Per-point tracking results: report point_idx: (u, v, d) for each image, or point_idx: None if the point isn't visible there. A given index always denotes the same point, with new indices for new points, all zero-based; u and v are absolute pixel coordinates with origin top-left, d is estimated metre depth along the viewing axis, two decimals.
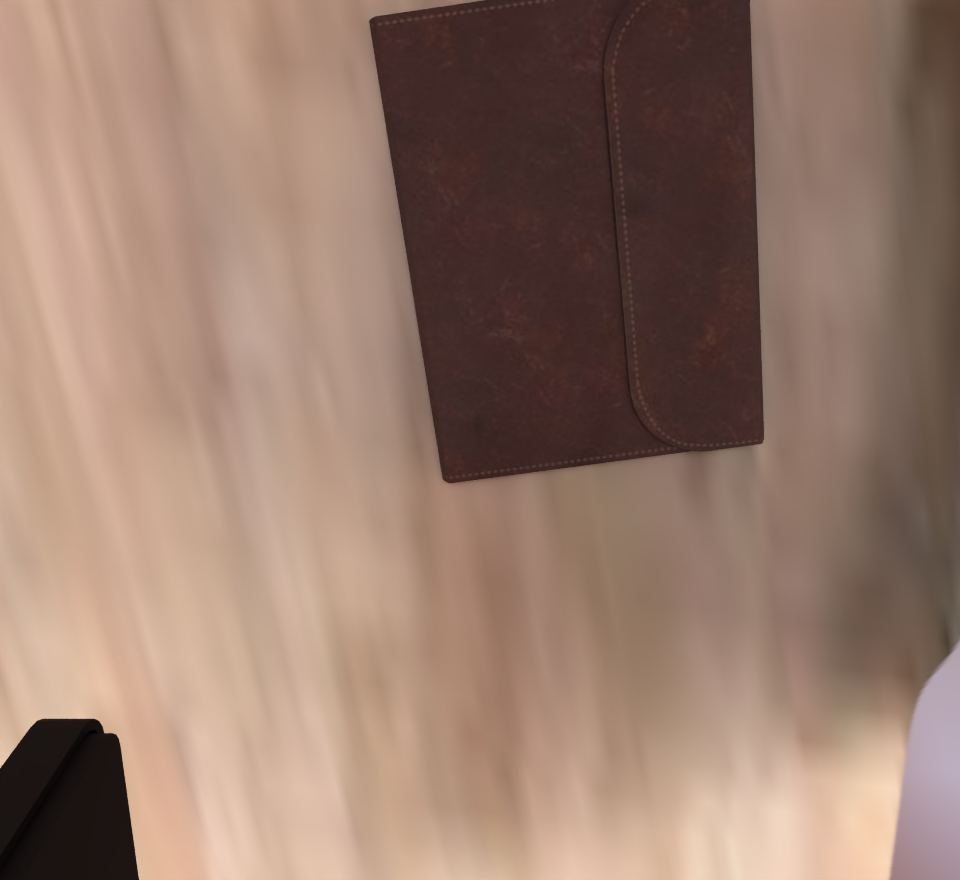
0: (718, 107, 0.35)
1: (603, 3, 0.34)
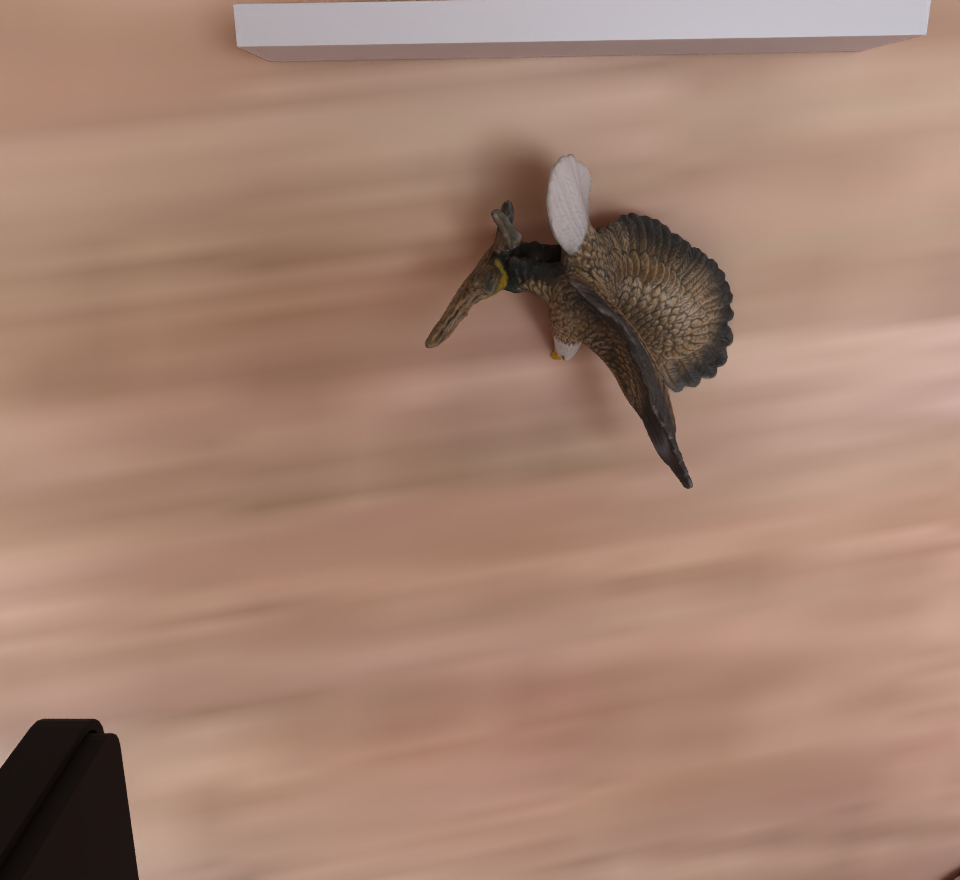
0: None
1: None
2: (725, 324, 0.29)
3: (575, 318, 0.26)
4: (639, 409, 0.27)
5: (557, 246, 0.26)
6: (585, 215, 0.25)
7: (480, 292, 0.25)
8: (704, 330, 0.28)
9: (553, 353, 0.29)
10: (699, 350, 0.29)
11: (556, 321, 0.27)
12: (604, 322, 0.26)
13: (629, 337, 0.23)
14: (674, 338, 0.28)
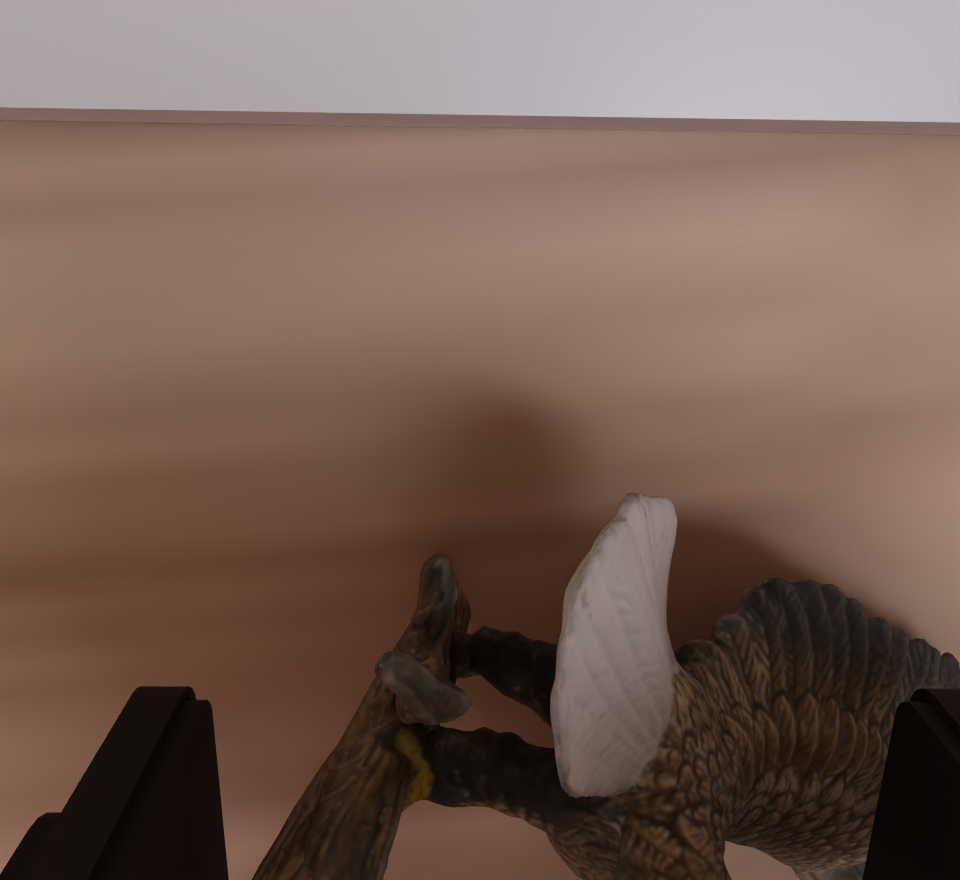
0: None
1: None
2: None
3: None
4: None
5: None
6: (667, 671, 0.08)
7: None
8: None
9: None
10: None
11: (565, 860, 0.10)
12: None
13: None
14: (855, 858, 0.11)
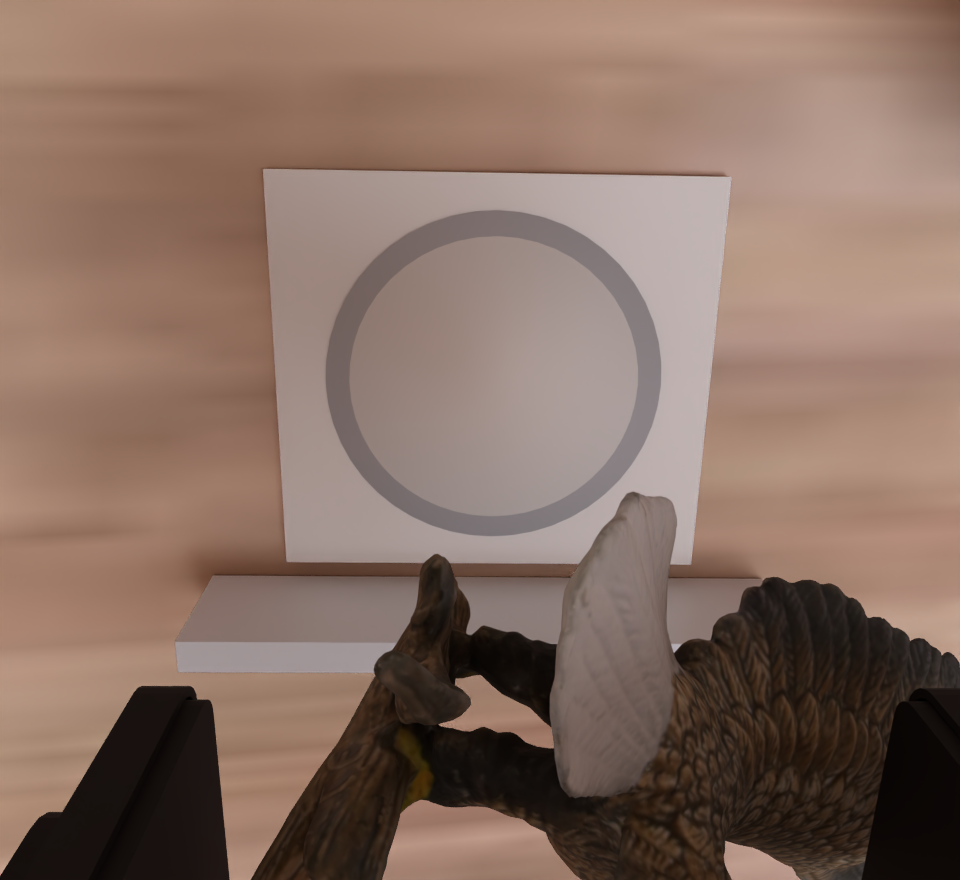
0: None
1: None
2: None
3: None
4: None
5: None
6: (667, 671, 0.08)
7: None
8: None
9: None
10: None
11: (564, 860, 0.10)
12: None
13: None
14: (855, 858, 0.11)
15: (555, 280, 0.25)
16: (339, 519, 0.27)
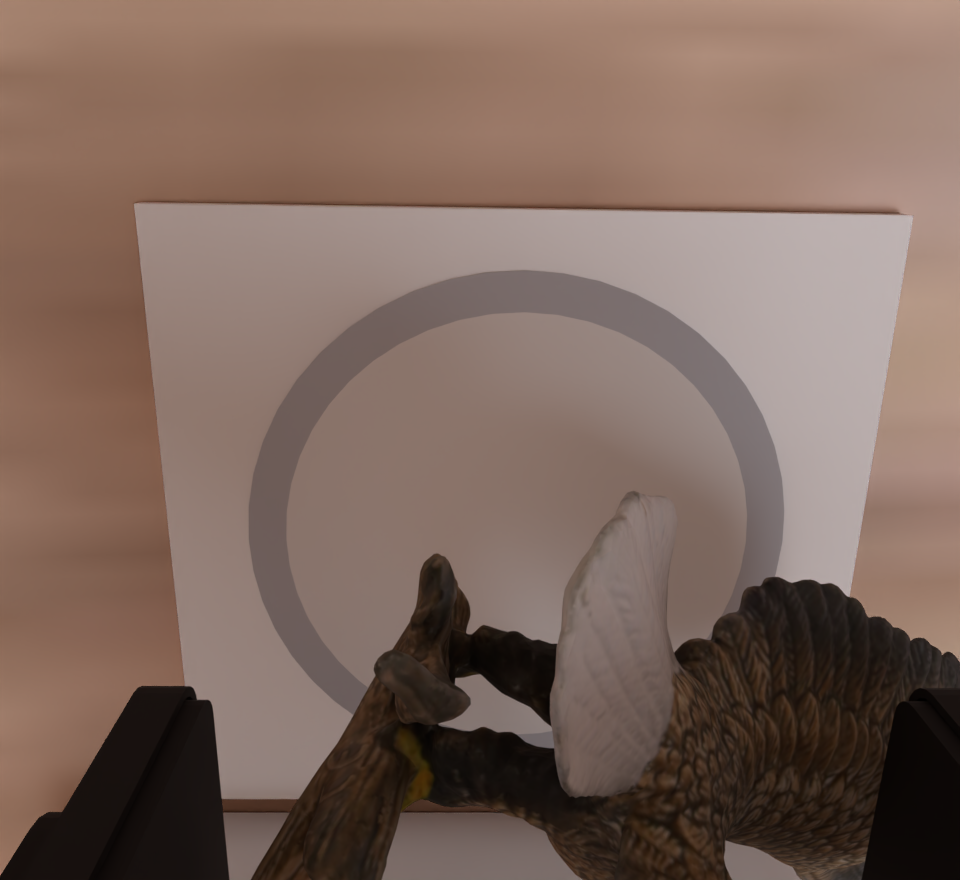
0: None
1: None
2: None
3: None
4: None
5: None
6: (668, 671, 0.08)
7: None
8: None
9: None
10: None
11: (564, 860, 0.10)
12: None
13: None
14: (855, 858, 0.11)
15: (617, 381, 0.15)
16: (276, 738, 0.18)
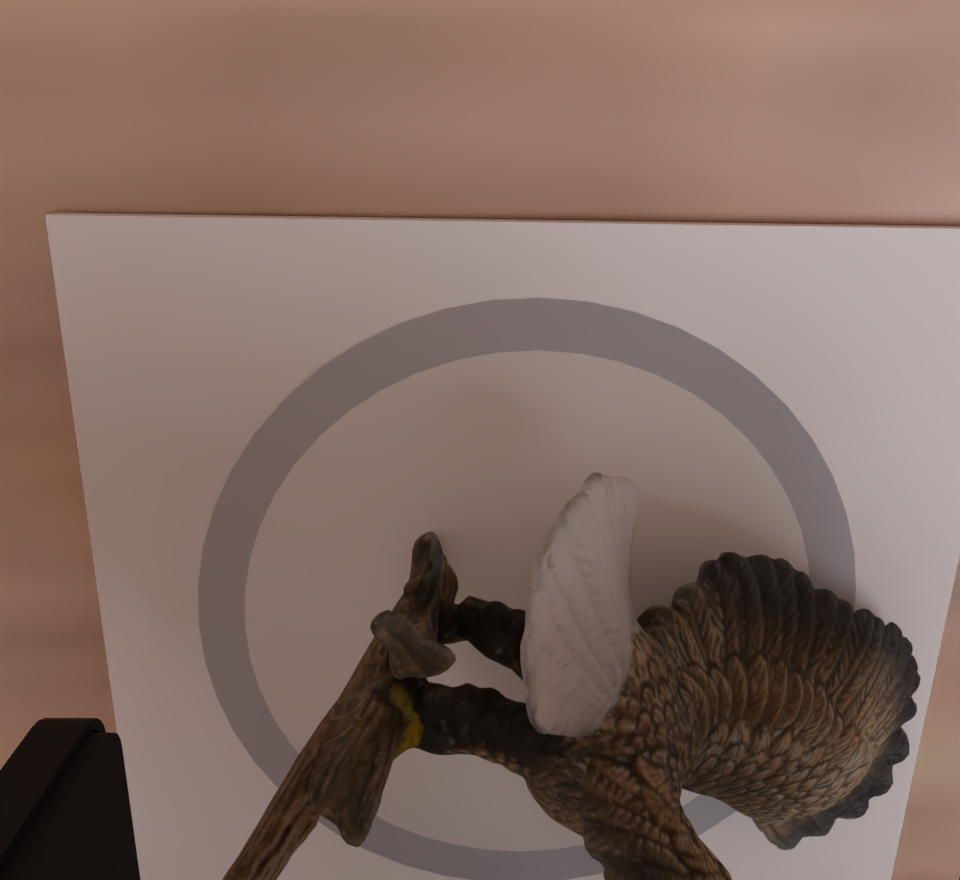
0: None
1: None
2: (899, 731, 0.14)
3: None
4: None
5: None
6: (627, 629, 0.09)
7: None
8: (865, 771, 0.13)
9: None
10: None
11: (541, 804, 0.11)
12: None
13: None
14: (805, 807, 0.12)
15: (653, 435, 0.12)
16: (237, 856, 0.15)
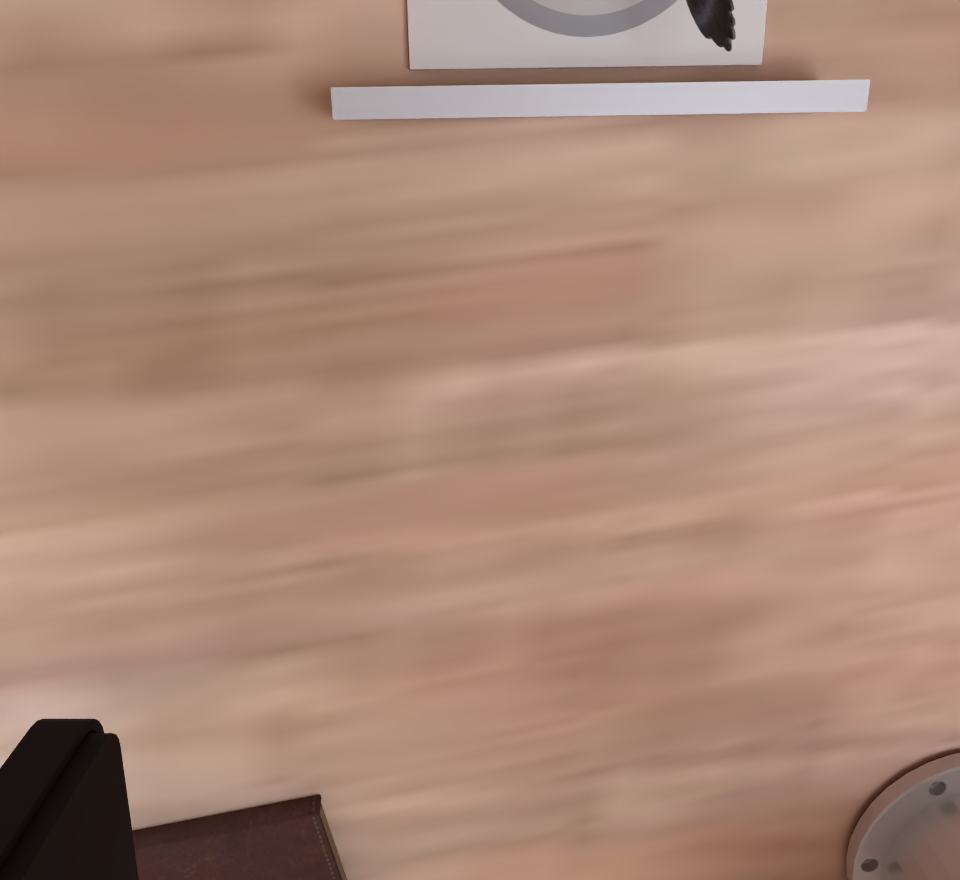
0: None
1: None
2: None
3: None
4: None
5: None
6: None
7: None
8: None
9: None
10: None
11: None
12: None
13: None
14: None
15: None
16: (456, 23, 0.31)
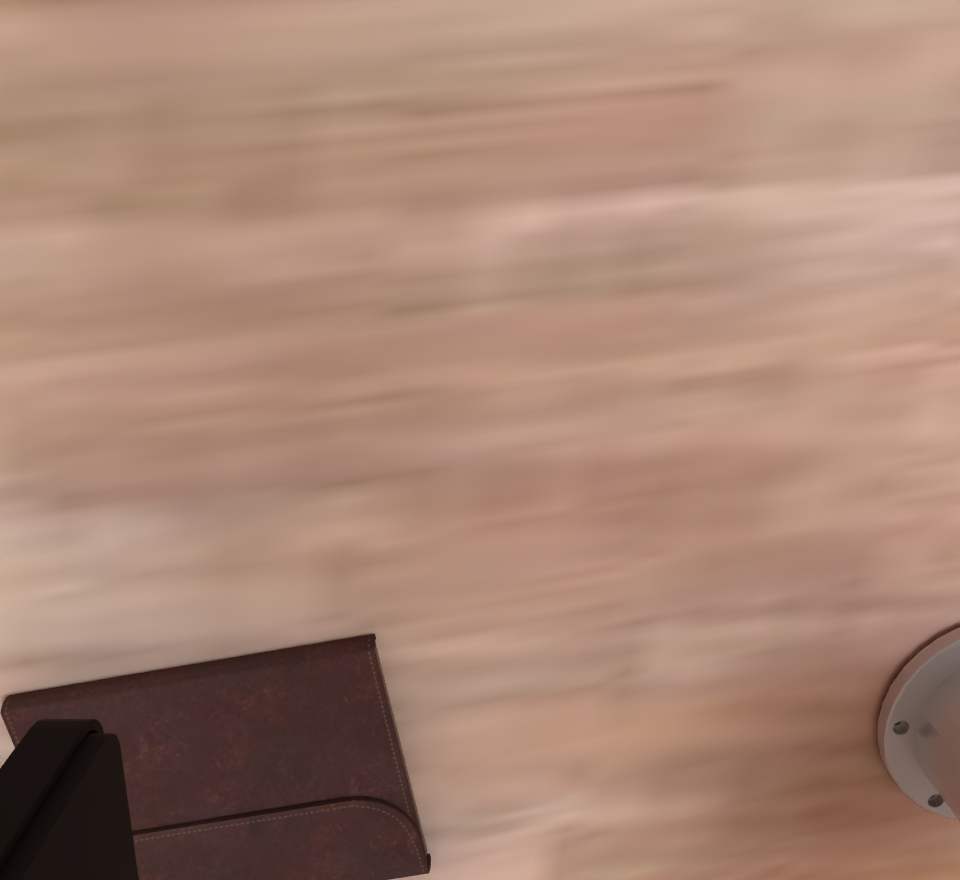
0: (333, 869, 0.48)
1: (396, 792, 0.47)
2: None
3: None
4: None
5: None
6: None
7: None
8: None
9: None
10: None
11: None
12: None
13: None
14: None
15: None
16: None
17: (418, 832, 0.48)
